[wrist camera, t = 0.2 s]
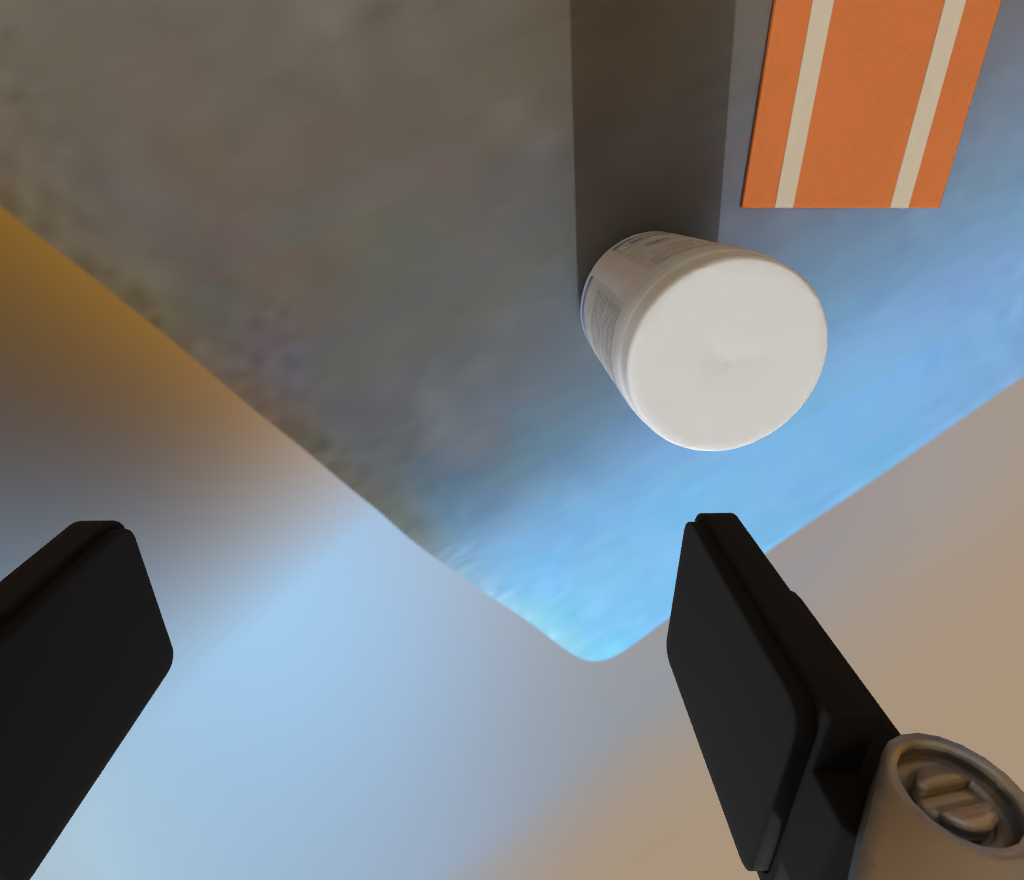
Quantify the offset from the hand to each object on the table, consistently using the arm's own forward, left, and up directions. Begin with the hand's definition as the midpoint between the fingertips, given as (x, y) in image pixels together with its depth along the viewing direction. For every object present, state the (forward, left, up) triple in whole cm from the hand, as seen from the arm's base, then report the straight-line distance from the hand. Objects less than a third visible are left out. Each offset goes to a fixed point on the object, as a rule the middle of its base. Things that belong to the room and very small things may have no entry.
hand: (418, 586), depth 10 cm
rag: (-11, +24, -31) cm, 41 cm away
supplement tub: (+1, +12, -31) cm, 33 cm away
